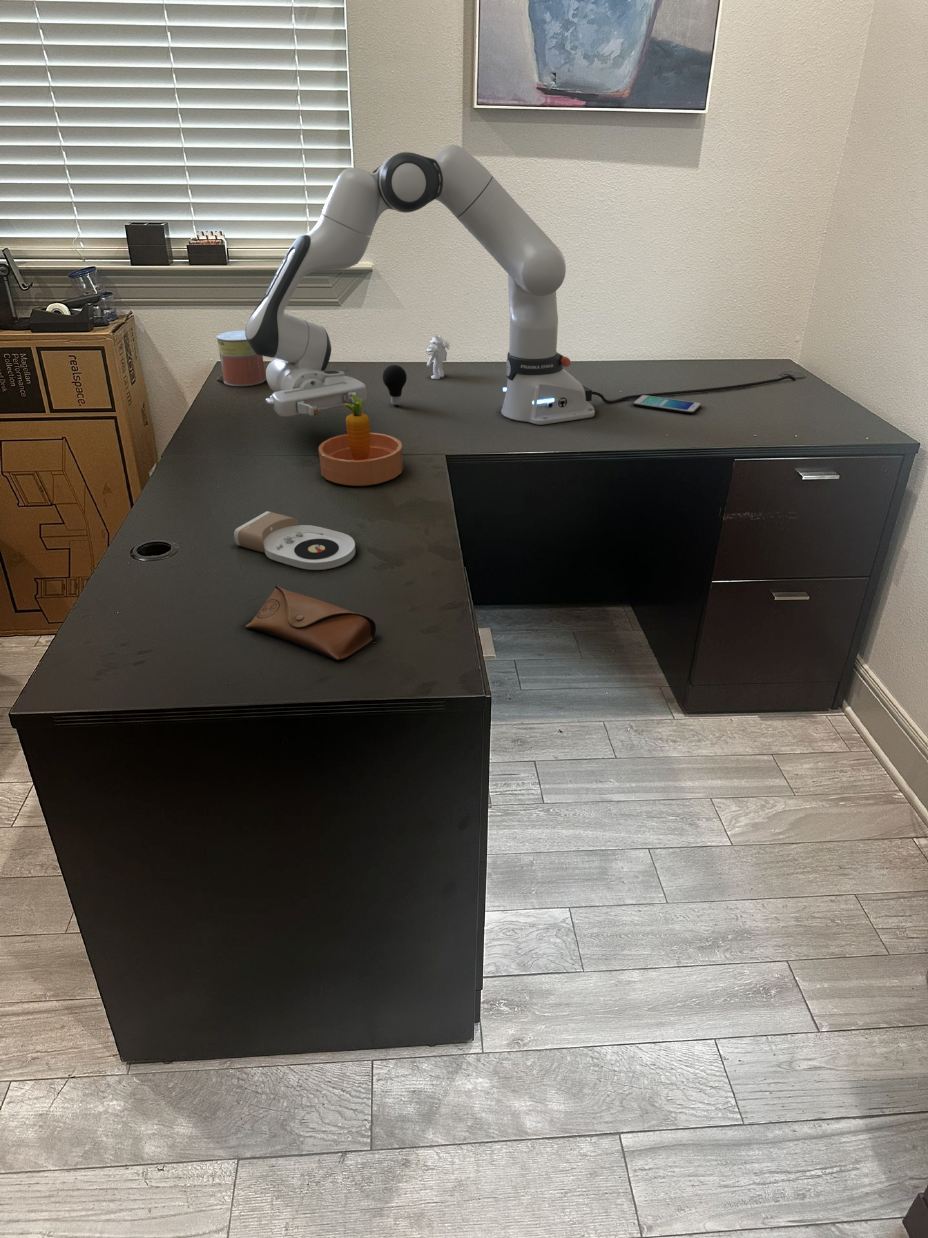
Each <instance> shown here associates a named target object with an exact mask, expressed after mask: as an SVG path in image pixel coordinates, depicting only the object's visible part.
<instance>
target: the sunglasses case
mask: <svg viewBox="0 0 928 1238" xmlns="http://www.w3.org/2000/svg"><path fill="white" fill-rule="evenodd" d="M274 587H275V588H274V590H273V591H272V592H271V593H270V595H269V596H268V597H267V599H266V601H265V602H264V604H263V605H261V607H260V609H259V610H258V611H257V613H256V614H255V615H254V617H253V618H252V620H251V621H250V622H249V623H247V624H245V626H244V627H245V628H246V629H250V630H254V631H258V632H262V633H264V634H267V635H270V636H273V637H276V638H279V639H281V640H283V641H286V642H290V643H292V644H294V645H297V646H299V647H302V648H304V649H307V650H310V651H312V652H315V653H317V654H320V655H323V656H325V657H328V658H331V659H333V660H337V661H340V660H345V659H347V658H348V657H350V656H352V655H354V654H355V653H357V652H358V651H360V650H361V649H363V648H364V647H366V646H367V645H369V644H370V643H371V642H373V640H374V638H375V635H376V633H377V625H376V622H375V621H374V619H372V618H371V617H370V616H368V615H365V614H363V613H360V612H359V613H358V612H354V611H351V610H349V609H346V608H343V607H341V606H338V605H335V604H332V603H329V602H326V601H323V600H320V599H317V598H313V597H311V596H308V595H305V594H301V593H298V592H295V591H291V590H288V589H285V588H283V587H281V586H278V585H275V586H274Z"/></svg>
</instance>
